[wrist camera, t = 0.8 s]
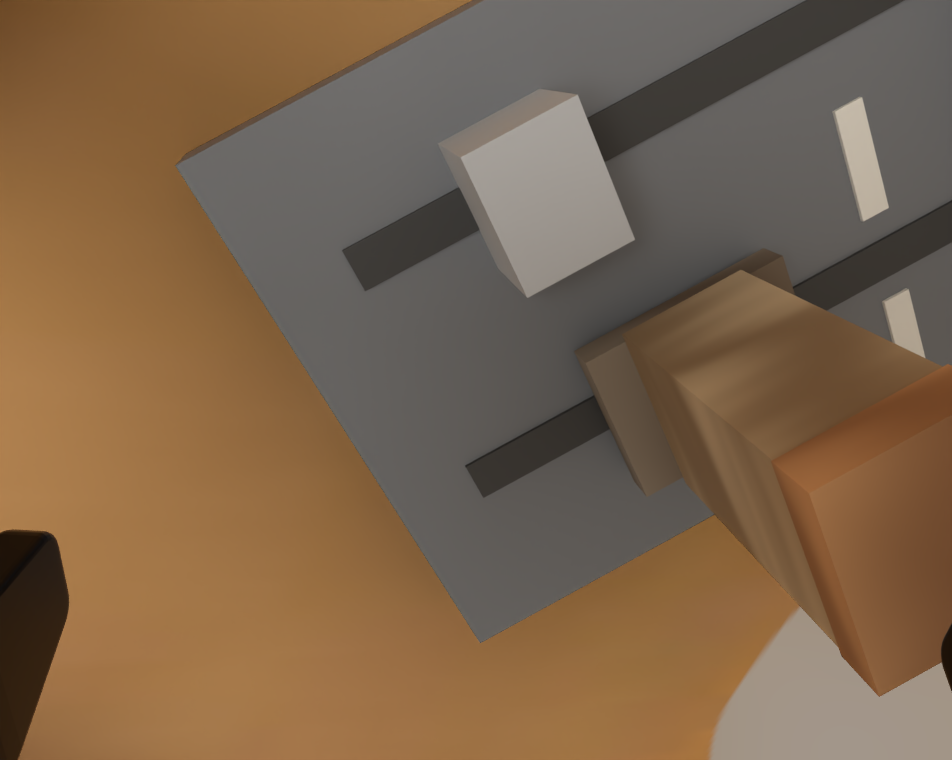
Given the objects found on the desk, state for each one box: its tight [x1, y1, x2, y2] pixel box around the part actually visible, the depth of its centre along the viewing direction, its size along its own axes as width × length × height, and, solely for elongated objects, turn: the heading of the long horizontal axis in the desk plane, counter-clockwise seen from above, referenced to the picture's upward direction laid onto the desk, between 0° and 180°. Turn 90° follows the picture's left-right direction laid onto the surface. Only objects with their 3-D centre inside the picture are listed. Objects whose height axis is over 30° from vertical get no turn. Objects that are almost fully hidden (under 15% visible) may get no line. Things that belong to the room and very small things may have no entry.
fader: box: [574, 248, 952, 697], centre depth 16 cm, size 5×4×8 cm
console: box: [175, 0, 952, 643], centre depth 19 cm, size 18×14×4 cm
